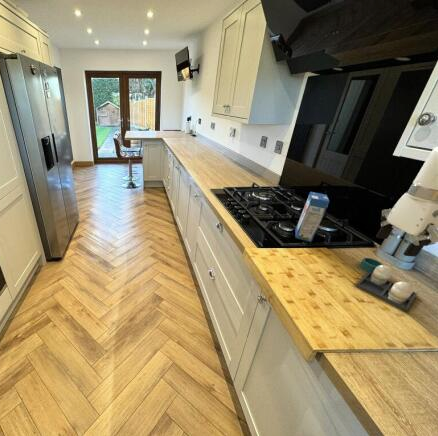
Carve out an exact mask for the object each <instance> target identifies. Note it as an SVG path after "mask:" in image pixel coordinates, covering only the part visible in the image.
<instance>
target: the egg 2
mask: <svg viewBox="0 0 438 436" xmlns="http://www.w3.org/2000/svg"><path fill="white" fill-rule="evenodd" d="M394 283H395V284H394V285H393V286H392V288H391V289H390V291H389V293H388V294H389V296H388V299H390V300H392V301H394V302H396V303H398V304H401V303H402V302H405V301H406V300H407V299H408V298H409V297H410V295H411V294H412V293H413V292H414V288H413V286H412V285H411V284H410V283H408V282H406V281H397V282H394Z"/></svg>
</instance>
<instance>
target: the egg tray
mask: <svg viewBox="0 0 438 436" xmlns="http://www.w3.org/2000/svg"><path fill="white" fill-rule="evenodd" d="M371 275H372V273H371V272H367V273H366V274H365V275H364V276H363V277H362V278H361V279H360V280H358V282H357V283H356V284H355V287H356V288H357V289H360V290H361V291H364V292H365V293H368V294H369V295H372V296H374V297H376V298H377V299H379V300H381V301H383V302H385V303H387V304H390V305H391V306H394V307H396V308H397V309H399V310H401V311H403V312H405V313H407V311H408V310H409V308H410V307H411V305H412V304H413V302H414V300H415V298H416V296H417V295H418V293H417V292H415V291H413V293H412V294H411V295H410V297H409V298H408V299H407V300H406V301H405V302H402V303H401V304H398V303H396V302H394V301H392V300H390V299H388V296H389V294H388V293H389V291H390V289H391V288H392V286H393V285H394V284H395V283H396V282H392V281H390V280H388V281H387V282H386V283H384V284H383V285H379V284H377V283H375V282H372V281H371Z"/></svg>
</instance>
